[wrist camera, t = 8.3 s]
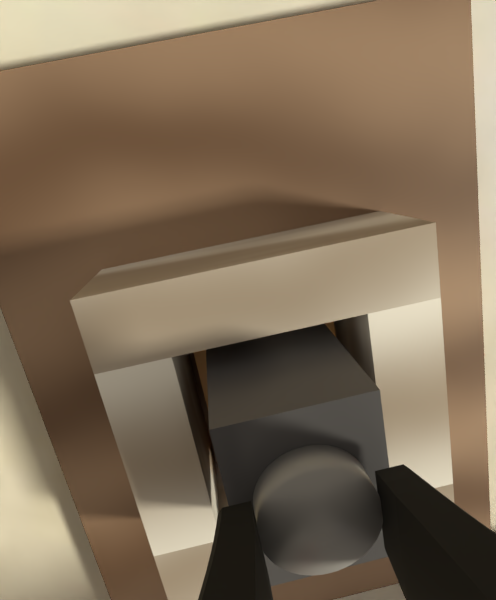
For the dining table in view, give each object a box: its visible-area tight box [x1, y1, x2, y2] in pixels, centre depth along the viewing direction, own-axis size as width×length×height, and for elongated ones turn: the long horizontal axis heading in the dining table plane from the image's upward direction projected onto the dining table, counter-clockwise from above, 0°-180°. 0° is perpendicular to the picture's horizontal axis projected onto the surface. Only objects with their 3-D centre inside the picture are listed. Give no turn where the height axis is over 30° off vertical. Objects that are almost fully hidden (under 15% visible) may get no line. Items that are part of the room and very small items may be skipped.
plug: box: [206, 324, 389, 586], centre depth 12 cm, size 4×4×6 cm
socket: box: [0, 0, 491, 600], centre depth 14 cm, size 22×16×5 cm
